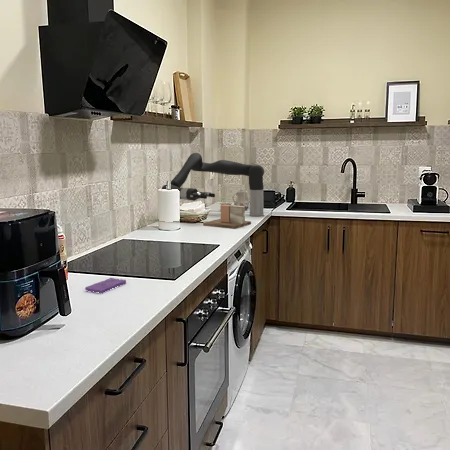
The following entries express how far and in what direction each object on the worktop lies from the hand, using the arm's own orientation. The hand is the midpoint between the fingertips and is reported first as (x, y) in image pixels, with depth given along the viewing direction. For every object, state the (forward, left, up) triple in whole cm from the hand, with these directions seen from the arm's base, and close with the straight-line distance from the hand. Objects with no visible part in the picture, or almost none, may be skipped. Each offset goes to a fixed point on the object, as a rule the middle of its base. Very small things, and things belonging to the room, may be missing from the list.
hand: (210, 196), depth 277 cm
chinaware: (-59, +5, -17) cm, 61 cm away
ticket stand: (+4, +11, -16) cm, 20 cm away
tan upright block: (+4, +11, -15) cm, 18 cm away
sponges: (+129, -2, -17) cm, 130 cm away
